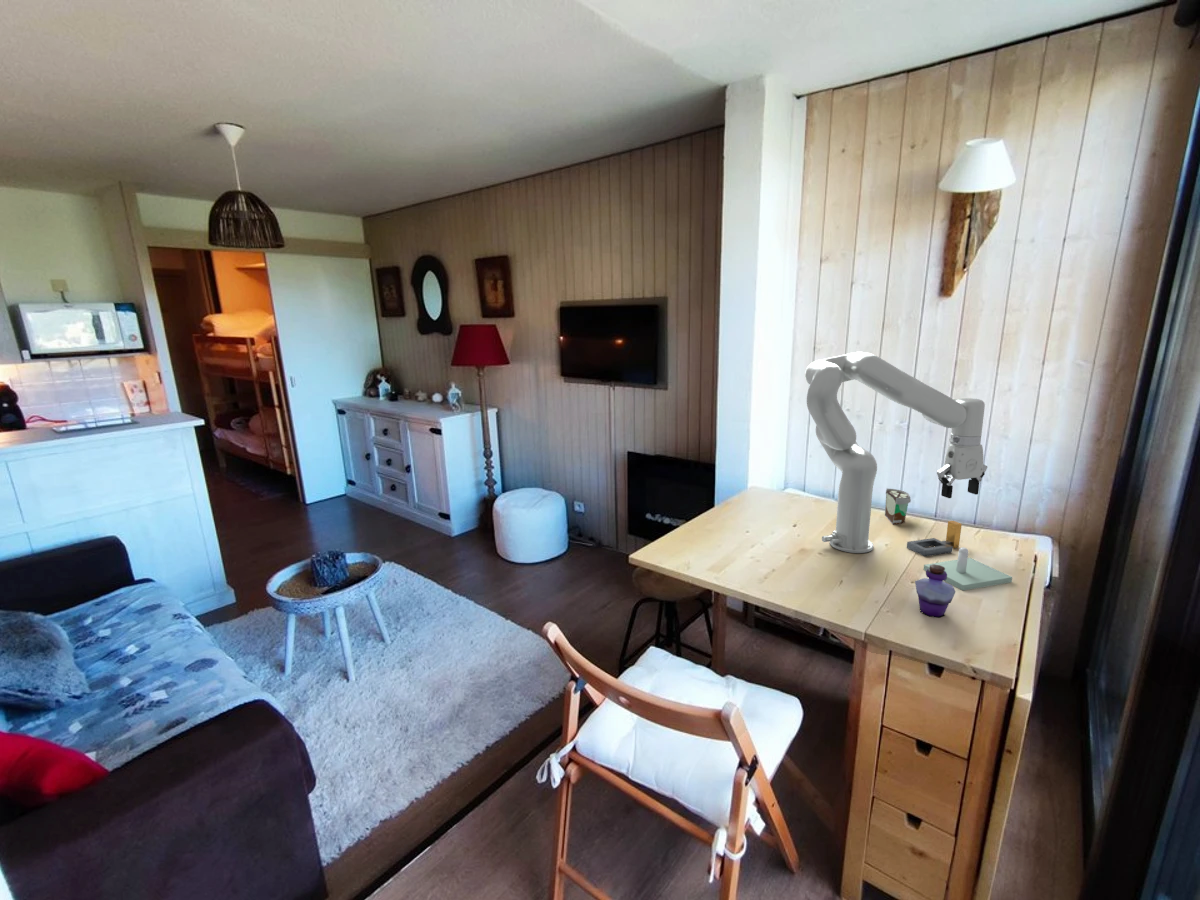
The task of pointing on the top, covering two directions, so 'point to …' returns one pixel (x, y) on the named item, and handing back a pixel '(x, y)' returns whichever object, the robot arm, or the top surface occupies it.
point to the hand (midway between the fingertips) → (959, 495)
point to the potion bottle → (934, 592)
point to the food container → (896, 506)
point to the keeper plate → (970, 572)
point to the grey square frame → (938, 542)
